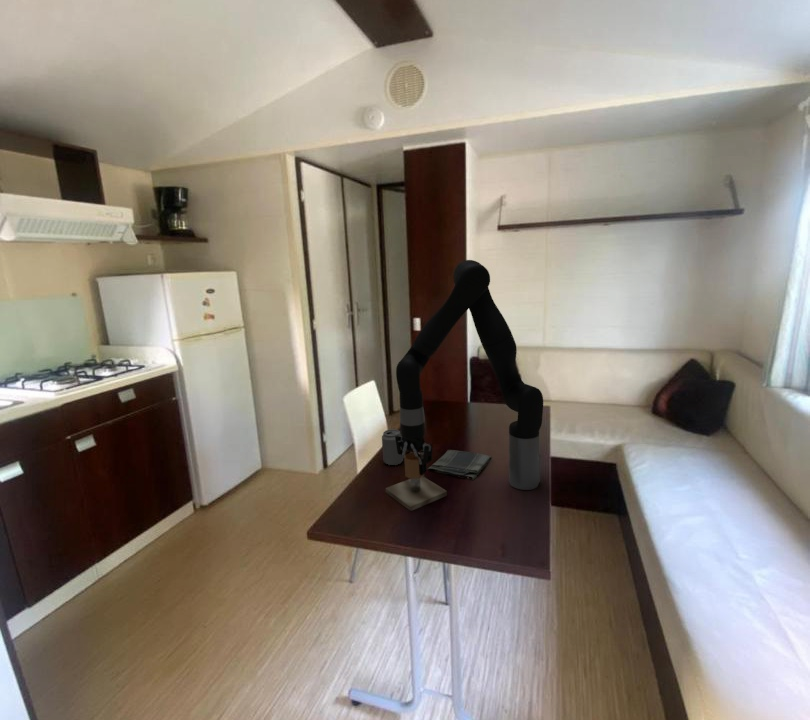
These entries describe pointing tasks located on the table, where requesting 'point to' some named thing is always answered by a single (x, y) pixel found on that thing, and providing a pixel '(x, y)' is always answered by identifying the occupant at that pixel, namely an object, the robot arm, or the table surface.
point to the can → (391, 447)
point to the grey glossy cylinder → (415, 485)
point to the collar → (412, 466)
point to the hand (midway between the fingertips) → (414, 470)
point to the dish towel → (460, 464)
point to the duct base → (416, 493)
